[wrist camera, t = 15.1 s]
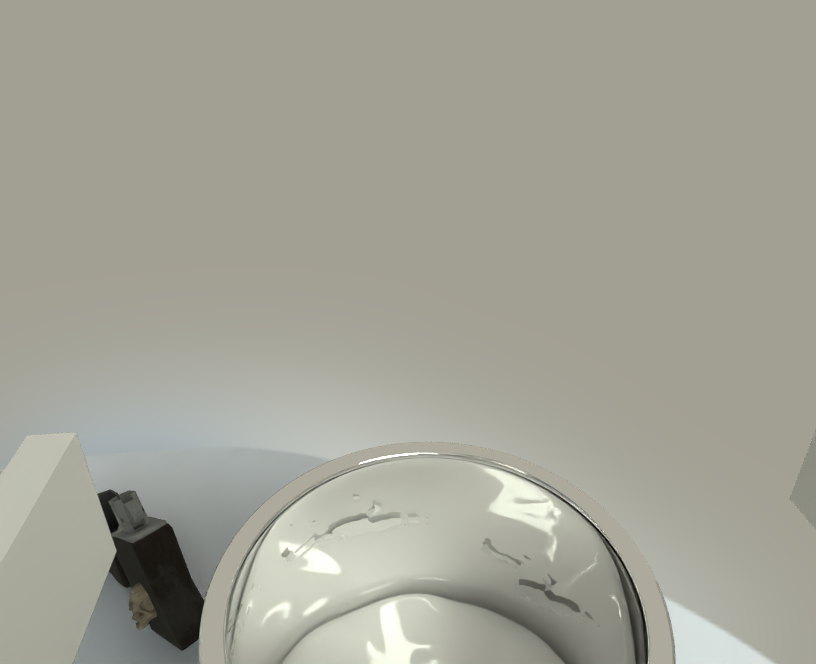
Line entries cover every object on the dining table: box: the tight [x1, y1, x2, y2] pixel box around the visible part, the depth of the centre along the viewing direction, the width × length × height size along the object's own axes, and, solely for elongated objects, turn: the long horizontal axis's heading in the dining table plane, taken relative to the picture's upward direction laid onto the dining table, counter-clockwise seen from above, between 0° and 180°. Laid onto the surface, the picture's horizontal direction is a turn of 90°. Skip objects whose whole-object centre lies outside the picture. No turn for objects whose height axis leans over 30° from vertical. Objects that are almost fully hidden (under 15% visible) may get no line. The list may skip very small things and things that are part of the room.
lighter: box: [97, 490, 204, 650], centre depth 26 cm, size 9×2×6 cm
